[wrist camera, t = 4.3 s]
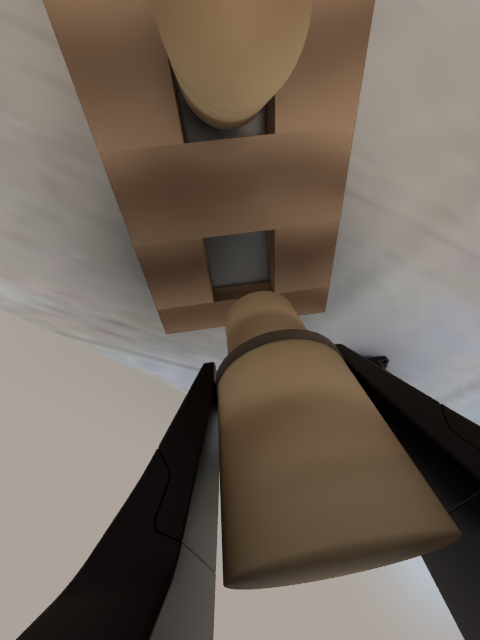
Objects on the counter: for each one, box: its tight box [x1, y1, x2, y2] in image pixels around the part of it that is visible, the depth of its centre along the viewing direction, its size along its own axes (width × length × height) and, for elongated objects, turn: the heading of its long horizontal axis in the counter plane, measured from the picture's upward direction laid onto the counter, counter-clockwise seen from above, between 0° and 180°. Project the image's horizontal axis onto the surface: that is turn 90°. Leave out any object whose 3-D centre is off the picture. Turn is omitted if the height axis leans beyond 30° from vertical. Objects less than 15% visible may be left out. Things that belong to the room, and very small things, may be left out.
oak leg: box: [215, 291, 462, 589], centre depth 7 cm, size 4×4×8 cm
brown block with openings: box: [43, 0, 375, 334], centre depth 12 cm, size 20×14×8 cm
